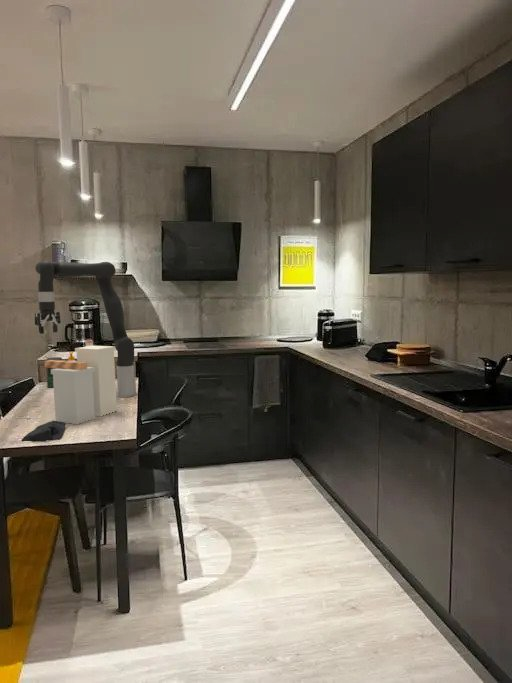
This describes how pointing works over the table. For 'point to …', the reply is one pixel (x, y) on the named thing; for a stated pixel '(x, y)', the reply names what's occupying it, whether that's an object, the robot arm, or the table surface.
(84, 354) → the stand
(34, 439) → the dark slate chunk
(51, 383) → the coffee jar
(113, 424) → the table surface
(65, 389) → the block
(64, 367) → the board
